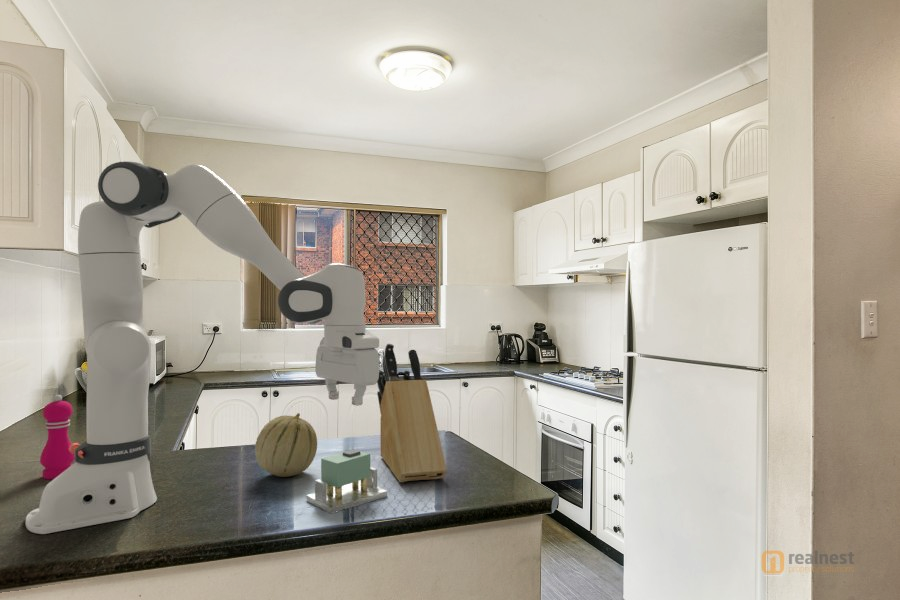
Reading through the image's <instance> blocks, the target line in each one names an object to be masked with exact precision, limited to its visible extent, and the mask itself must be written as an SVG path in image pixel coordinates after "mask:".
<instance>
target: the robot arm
mask: <svg viewBox="0 0 900 600" xmlns="http://www.w3.org/2000/svg"><path fill="white" fill-rule="evenodd" d="M97 181H98V182H97V188H98V189H97V190H98V193H99V196H100V198H101V199H102V200H99V201H95V202H92V203H89V204H87V205H86V206H84V207H83V208H82V210H81V212H80V215H79V223H78V230H77V231H78V232H77V251H78V252H77V255H78V267H79V278H80V289H81V292H80V293H81V304H82V305H81V306H82V321H83V323H82V324H83V335H84V336H83V337H84V349H85V353H86V358H87V359H86V361H87V362H86V372H87V373H86V403H85V404H86V406H85V407H86V411H85V412H86V415H85V416H86V418H85V419H86V421H85V422H86V441H84V442H82V443H81V444H79V443H78V442H73V443H71V445H72V446H69V447H70V448H69V451H70V452H71V453H72V454H74V455H75V460H74V463H72V464H71V466H70V467H69V468H67V469H66V470H65V471H64V472H62V473H61V474H60V475H59V476H57V477H56V478H55V479H51V481H49V482H47V484H46V486H45V488H44V489H43V491H42V493H41V496H40V501H39V506H38V507H37V508H35V509H33V510H31V511H30V512H28V514H27V515H26V516H25V527H26V529H27V530H28V531H29V532H31V533H33V534H39V535H46V534H51V533H57V532H62V531H68V530H73V529H79V528H84V527H89V526H93V525H100V524H105V523H111V522H116V521H121V520H126V519H130V518H131V519H132V518H133V517H134V518H135V516H137V515H138V514H139V513H140V512H141V511H143V510H145V509H147V508H149V507H151V506H152V505H154V503H156V502H157V500H158V497H157V494H156V491H155V488H154V484H153V480H152V474H151V468H150V467H151V465H150V461H151V456H152V441H151V440H152V439H151V435H150V434H149V388H150V375H151V361H152V360H151V359H152V358H151V357H152V343H151V340H150V339H151V338H150V337H149V335H148V333H147V332H146V331H145V329H144V312H143V311H144V308H143V307H144V305H143V304H144V302H143V301H144V283H143V272H142V269H143V268H142V258H141V249H140V248H141V246H140V234H141V230H142V229H143V227H145V228H149V229H150V228H151V229H152V228H153V227H157V226H159V225H162V224H166V223H169V222H171V221H174V220H176V219H178V218H179V217H181V216H182V215H183V216H184V217H185V218H186V219H188V220H189V222H190V223H191V224H192V225H193V226H194V227H195V228H196V229H197V230H198V231H199V232H200V233H201V234H202V235H203V236H204V237H205V238H206V239H208V240H209V241H210V242H211V243H212V244H214V245H215V246H217V247H218V248H220V249H221V250H222V251H225V252H226V253H229V254H231V255H234V256H237V257H238V258H240V259H243V260H245V261H246V262H248V263H250V265H253V266H254V267H256V268H257V269H258V270H259V271H260V272H261V273H262V274H263V275H264V276H265V277H267V278H268V280H269V281H270V282H271V283H272V284H273V285H274V286H275V287H276V288H277V289H278V290H279V291H280V292H279V294H278V298H277V305H278V309H279V311H280V313H281V315H283V316H284V318H286V319H287V320H289V321H291V322H293V323H295V324H296V323H297V324H307V325H308V324H311V325H312V324H318V323H320V322H322V321H323V325H324V326H323V327H324V328H323V329H324V330H323V334H324V336H323V337H322V339H321V340H320V342H319V346H318V347H317V349H316V355H315V356H316V357H315V370H314V371H315V375H316V377H318V378H321V379H325V386H326V388H327V389H326V390H327V391H328V399H329V400H331V401H332V400H333V401H335V400H338V399H339V397H340V396H339V394H340V391H339V390H338V389H337V383H338V382H341V383H347V384H352V385H353V389H354V390H355V391H354V395H353V396H351V405H353V406H355V407H358V406H359V407H360V406H362V405H363V401H364V400H363V399H364V398H363V397H364V395H365V394H366V393H365V392H366V391H367V386H374V385H376V384H377V381H378V378H379V371H380V356H379V352H378V350H377V349H378V348H379V347H380V339H379V338H378V337H377V336H376V335H374V334H373V333H371V332H370V331H369V330H367V329H366V325H367V324H366V320H365V314H364V312H365V308H366V304H367V303H366V301H367V300H366V282H365V278H364V274H363V272H362V271H361V270H360V269H359V268H358V267H356V266H354V265H353V266H352V265H348V264H345V263H344V264H343V263H338V262H332V263H328V264H327V265H326V266H325V267H323V268H322V269H320V270H318V271H316V272H314V273H311V274H309V275H306V274H304V273H303V272H301V270H300V269H298V267H296V265H295V264H293V262H292V261H290V259H289V258H287V256H286V255H285V254H284V253H282V251H280V249H279V248H278V247H277V245H276V244H275V243H274V242H273V241H272V239H271V238H270V236H269V234H268V233H267V231H266V230H265V228H264V227H263V226H262V224H261V223H260V221H259V220H258V218H257V216H256V214H255V213H254V212H253V211H252V209H251V208H250V207H249V205H247V203H246V202H245V201H244V199H243V198H242V197H241V196H240V195H239V194H238V193H237V191H235V190H234V189H233V188H232V187H231V186H230V185H229V184H227V182H225V180H223V179H222V178H221V177H219V176H218V175H216V173H214V172H213V171H211V170H210V169H209V168H207V167H206V166H203V165H201V164H197V163H196V164H194V163H193V164H189V165H186V166H183V167H181V168H180V169H179V170H177V171H176V172H175V173H173V174H167V173H165V172H164V171H163V170H161V169H159V168H156V167H152V166H150V165H146V164H144V163H141V162H140V163H139V162H136V161H119V162H114V163H111V164H109V165H108V166H106V167H105V168H104V169H103V171H102V172H101V173H100V175H99V178H98V180H97Z"/></svg>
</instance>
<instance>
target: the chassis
mask: <svg viewBox="0 0 900 600" xmlns="http://www.w3.org/2000/svg"><path fill="white" fill-rule="evenodd" d="M370 474H371V477H368V478H365V479H362V480H359V481H356V482H353V483H350V484H347V485H344V486H341V487H338V488H337V487H334V486H332V485H329V484H327V483H326V482H324V481H322V480H321V479H315V480H314V492H312V493H309V494H306V498H305V499H306V500H307V501H306V502H309V503H310V504H312V505H313V504H314V505H313V506H316V507H317V508H319V507H320V508H319V509H320V510H323V511H325V512H326V511H327V513H328V512H329V514H330V513H332V514H334V513H333V512H335V513H337V512H336V511H338V512H341V511H340V510H342V511H344V510H343V509H345V510H347V508H348V509H351V508H353V507H354V508H355V507H357V506H361V505H364V504H367V503H370V502H373V501H377V500H381V499H383V498H386V497H388V490H387V489H384V488H381V487H379V486H378V469H377V468H375V467H374V466H370Z"/></svg>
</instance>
